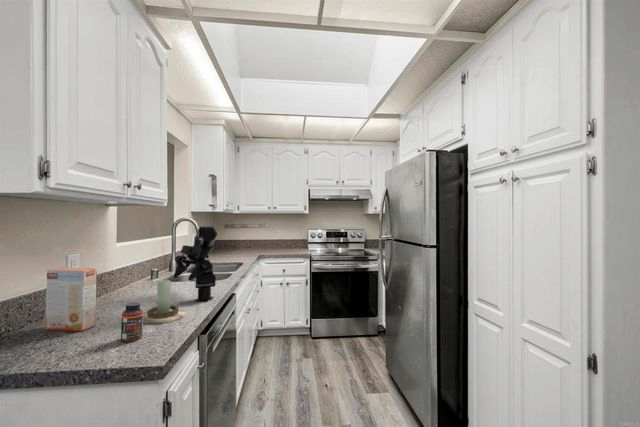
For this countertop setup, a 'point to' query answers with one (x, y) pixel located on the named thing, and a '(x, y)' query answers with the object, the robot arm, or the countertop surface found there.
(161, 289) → the flanged peg
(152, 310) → the locating collar
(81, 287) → the cracker box
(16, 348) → the countertop surface
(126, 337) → the supplement bottle
